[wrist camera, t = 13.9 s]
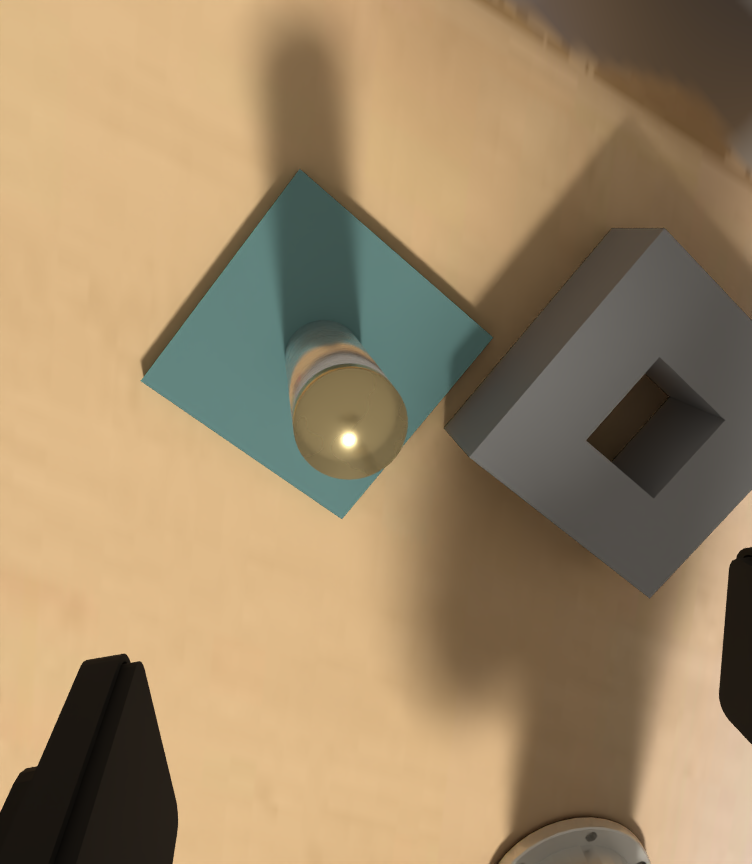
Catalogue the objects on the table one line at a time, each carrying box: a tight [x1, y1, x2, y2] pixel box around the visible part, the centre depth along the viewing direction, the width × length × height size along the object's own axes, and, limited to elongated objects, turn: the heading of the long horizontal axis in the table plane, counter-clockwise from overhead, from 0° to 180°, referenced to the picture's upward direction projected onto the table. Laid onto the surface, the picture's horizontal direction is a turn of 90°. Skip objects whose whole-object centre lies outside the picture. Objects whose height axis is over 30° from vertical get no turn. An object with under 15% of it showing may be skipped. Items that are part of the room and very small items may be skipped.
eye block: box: [444, 228, 752, 598], centre depth 36 cm, size 14×14×5 cm
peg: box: [285, 320, 408, 480], centre depth 28 cm, size 4×4×12 cm
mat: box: [141, 169, 493, 519], centre depth 35 cm, size 13×13×1 cm
